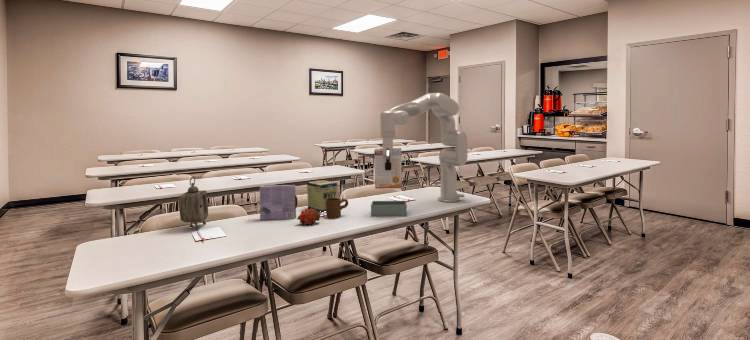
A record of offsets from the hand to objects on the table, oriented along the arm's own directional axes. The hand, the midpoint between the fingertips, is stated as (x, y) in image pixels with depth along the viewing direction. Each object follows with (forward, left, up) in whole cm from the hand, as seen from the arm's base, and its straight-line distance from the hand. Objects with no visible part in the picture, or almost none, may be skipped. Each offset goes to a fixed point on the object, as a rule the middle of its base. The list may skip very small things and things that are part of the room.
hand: (388, 168), depth 228 cm
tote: (0, 0, -24) cm, 24 cm away
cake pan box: (+57, +9, -25) cm, 63 cm away
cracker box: (0, 0, -10) cm, 10 cm away
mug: (+27, +5, -25) cm, 37 cm away
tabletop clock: (+94, +26, -25) cm, 100 cm away
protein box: (+38, -12, -25) cm, 47 cm away
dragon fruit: (+39, +20, -25) cm, 50 cm away
